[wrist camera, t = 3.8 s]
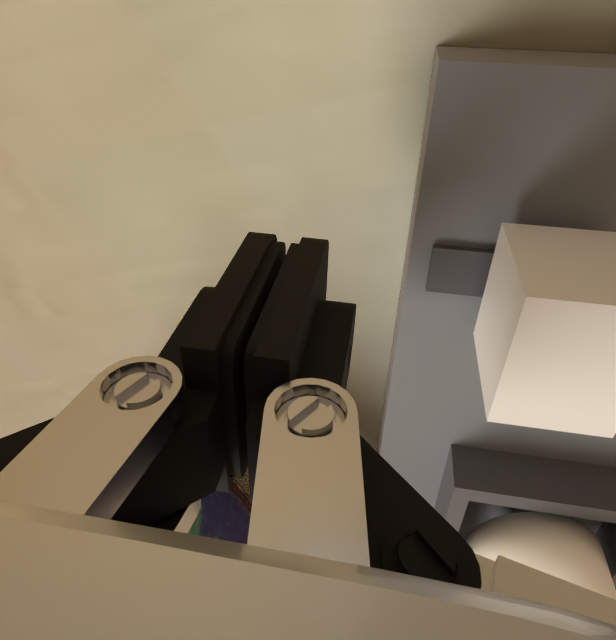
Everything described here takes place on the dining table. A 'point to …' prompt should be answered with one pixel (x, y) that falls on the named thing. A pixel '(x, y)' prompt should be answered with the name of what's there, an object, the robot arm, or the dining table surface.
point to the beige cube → (550, 330)
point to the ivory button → (546, 547)
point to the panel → (472, 273)
